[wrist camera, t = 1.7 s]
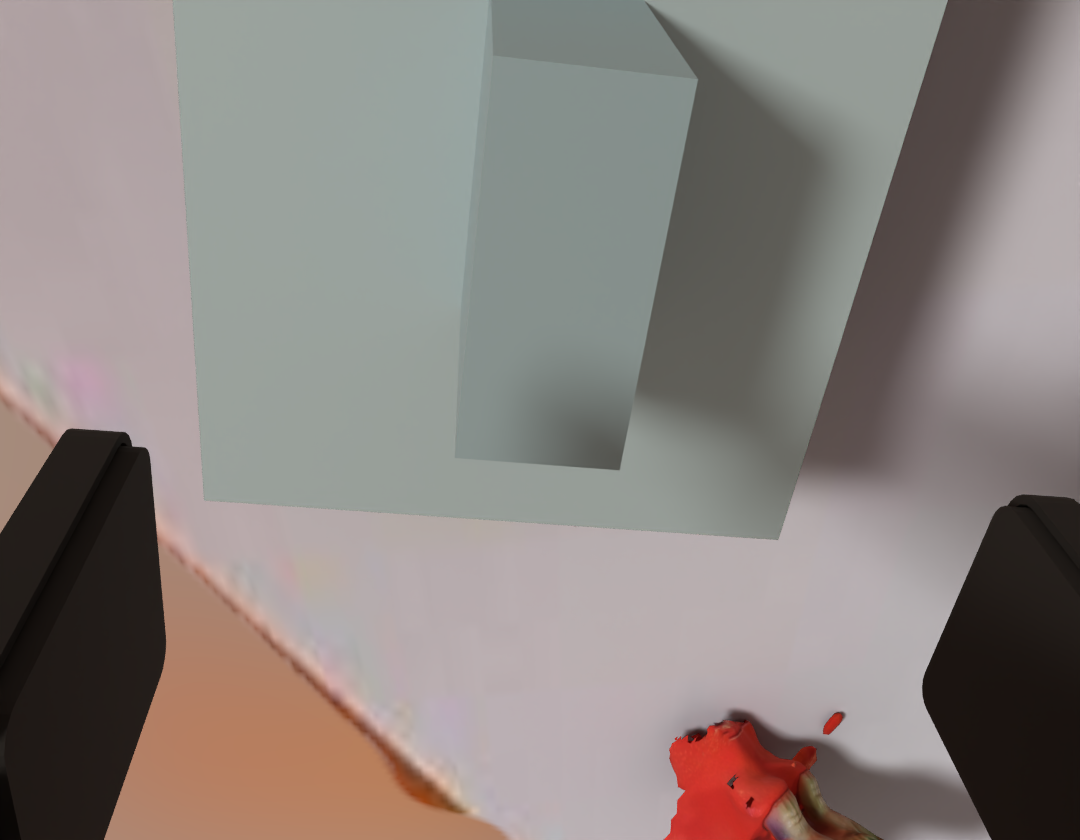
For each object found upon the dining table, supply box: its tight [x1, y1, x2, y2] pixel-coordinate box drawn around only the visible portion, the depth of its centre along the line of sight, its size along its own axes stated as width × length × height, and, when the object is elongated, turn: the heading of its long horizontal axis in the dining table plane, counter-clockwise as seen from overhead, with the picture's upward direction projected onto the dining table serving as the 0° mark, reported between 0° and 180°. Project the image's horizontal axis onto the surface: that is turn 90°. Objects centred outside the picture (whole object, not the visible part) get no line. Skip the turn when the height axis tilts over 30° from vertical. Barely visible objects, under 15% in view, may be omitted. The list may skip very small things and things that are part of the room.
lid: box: [173, 0, 948, 540], centre depth 20 cm, size 15×19×8 cm
